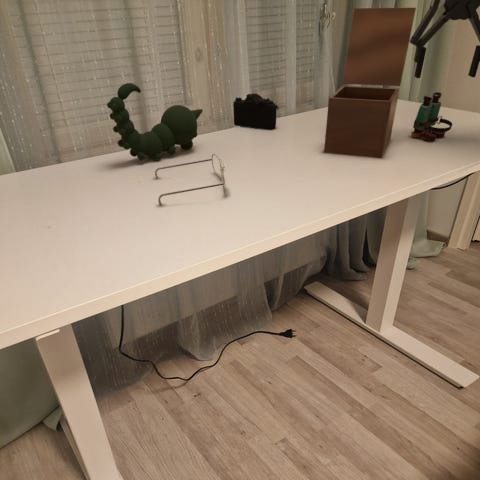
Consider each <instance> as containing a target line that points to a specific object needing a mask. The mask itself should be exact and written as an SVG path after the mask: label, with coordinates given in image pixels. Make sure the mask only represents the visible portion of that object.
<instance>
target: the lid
mask: <svg viewBox="0 0 480 480" xmlns="http://www.w3.org/2000/svg"><path fill="white" fill-rule="evenodd" d="M416 10H417V7H354V8H353V14H352V19H351V27H350V33H349V39H348V46H347V53H346V59H345V64H344V65H345V66H344V74H343V79H342V84H343V85H357V86H358V85H360V86H379V87H385V86H386V87H401V84H402V81H403V74H404V70H405V64H406V61H407V60H406V59H407V56H408V55H407V54H408V50H409V44H410V39H411V34H412V29H413V25H414V20H415V15H416Z"/></svg>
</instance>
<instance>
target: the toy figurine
mask: <svg viewBox="0 0 480 480" xmlns="http://www.w3.org/2000/svg"><path fill="white" fill-rule="evenodd" d="M133 92H136V93H139V94H140V93H142V90H141V88H140V87H139V86H138V85H137V84H135V83H132V82H126V83H123V84H122V85H121V86H119V88H118V89H117V93H116V94H117V96H113V97H112V98H111V99H110V100H109V101H108V102H106V106H107V108H108V109H110V111H111V113H109V118H110V119H111V121H114V123H115V124H116V125H115V126H113V127H112V130H113V132H114V133H116V134H117V133H118V135H120V139H119V140H118V141H117V146H118V147H120V148H122V149H124V150H127V151H128V150H129V149H130V150H129V155H130V156H131V157H133V158H134V157H136V158H137V159H138V160H139V161H144V160H145V159H146V157H148V158H152V159H153V160H155V161H158V162H159V161H160V160H161V159H162V153H167V154H168V155H169V156H174V155H175V154H177V147H176V146H180V149H182V150H184V151H190V150H191V149H193V147H194V141H193V140H194V139H195V138H197V136H198V121H197V120H198V119H199V117H200V116H201V114H202V113H203V108H199V109H192V110H191V109H190V108H189V107H187V106H185V105H181V104H175V105H172V106H170V107H168V108H167V109H165V111H164V112H163V114H162V115H161V119H160V122H159V123H157V124H155V125H154V126H153V127H152V128H151V130H150V131H149V130H148V131H145V132H144V133H140V132H139V130H137V129H136V128H135V124H134V122H133V121H132V120H131V119H130V113H129V111H128V109H127V108H126V103H125V100H126V99H128V98H129V96H130V95H131V93H133Z"/></svg>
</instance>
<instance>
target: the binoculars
mask: <svg viewBox="0 0 480 480" xmlns="http://www.w3.org/2000/svg"><path fill="white" fill-rule="evenodd" d="M441 97H442V92H439V91H437V92H433V94H432V97H431V96H427V95H424V96H423V103H421V104H420V105H419V108H418V111H417V114H416V116H415V120H414V121H413V126H412V128H413V131H411V133H410V137H411V138H412V137H413V138H420V137H422V139H424V140H427V141H430V142H435V141H436V139H442V138H444V137H445V135H446V132H449V131H451V130H452V127H453V122H452V121H450V120H449V119H445V118H443V116H442V115H439V113H440V111H441V110H440V109H441V106H442V102H441V101H439V100H440V99H441ZM436 124H437V125H441V124H444V125H447V126H448V127H435V125H436Z"/></svg>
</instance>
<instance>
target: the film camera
mask: <svg viewBox="0 0 480 480" xmlns="http://www.w3.org/2000/svg"><path fill="white" fill-rule="evenodd" d="M232 106H233V107H232V108H233V125H234V126H236V127H244V128H251V129H252V128H253V129H260V130H268V131H269V130H275V129H276V127H277V110H279V106H278V105H277V104H276V103H275V102H274V100H271V99H270V98H269V97H267V98H263V97H262V96H261V95H260V94H258V93H255V92H253V93H248V94H246V97H245V99H243V98H242V97H238V96H237V97H235V99H234V101H233V104H232Z"/></svg>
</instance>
